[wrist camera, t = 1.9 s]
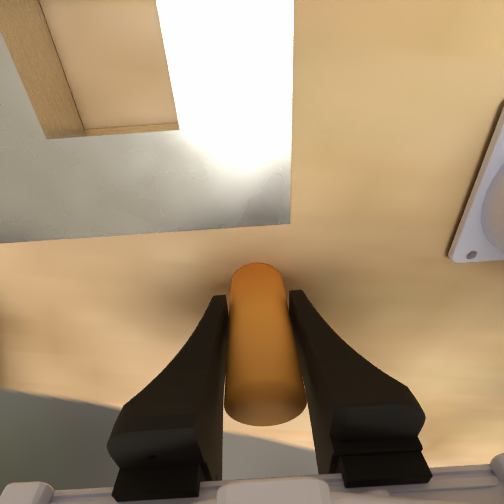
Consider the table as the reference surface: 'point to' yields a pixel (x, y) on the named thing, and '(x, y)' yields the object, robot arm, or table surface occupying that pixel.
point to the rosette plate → (151, 130)
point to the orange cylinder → (261, 351)
